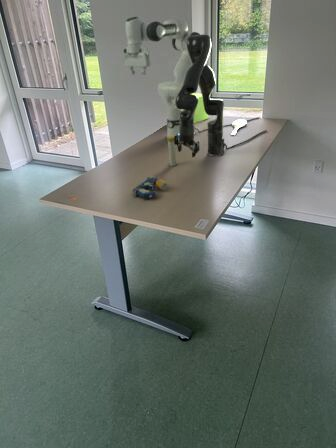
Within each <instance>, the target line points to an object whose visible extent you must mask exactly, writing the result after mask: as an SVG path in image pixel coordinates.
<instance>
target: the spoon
mask: <svg viewBox="0 0 336 448" xmlns="http://www.w3.org/2000/svg"><path fill="white" fill-rule="evenodd" d="M246 121H247V120H245V119H237V120H234V121H233V122H232V123H231V124H232V125H231V126H232V127H234V129H233V131H232V132H231V136H236V135H237V131H238V129H239V128H242V127H244V126H246V125H247V122H248V121H247V122H246Z"/></svg>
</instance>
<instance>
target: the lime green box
mask: <svg viewBox="0 0 336 448" xmlns="http://www.w3.org/2000/svg"><path fill="white" fill-rule="evenodd" d="M192 95H196V96H197V98H198V105H197V108H196V110H195V114H194V124H196V123H199V122H202V121H205V120H208V119H209V115H207V114H206V112H205V109H204V103H203V98H202V94H201V93H197V92H195V93H194V94H192ZM182 111H183V110H182Z"/></svg>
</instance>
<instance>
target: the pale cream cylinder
mask: <svg viewBox="0 0 336 448" xmlns="http://www.w3.org/2000/svg"><path fill="white" fill-rule="evenodd" d="M167 148H168V161H169V166H170V167H174V166H177V153H176V145H175V144H174V141H173V142H168V141H167Z"/></svg>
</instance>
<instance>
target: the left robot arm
mask: <svg viewBox="0 0 336 448" xmlns="http://www.w3.org/2000/svg"><path fill="white" fill-rule="evenodd" d="M193 35H201V33H199V32H197V31H189V25H188V23H187V22H186V20H184V19H180V18H171V19H167V20H164V22H163V23H161V22H160V21H157V20H156V21H150V22H144V21H142V20H141V19H140V18H139V17H138V16H132V17H128V18H127V19H126V20H125V36H126V39H127V43H126V44H127V46H126V47H125V48H123V49H122V54H123V56H122V57H123V65H124V66H125V67H128V68H129V70H130V74H131V75H136V71H135V70H134V68H138V67H139V68H141V69H142V71H141V76H145V75H146V74H147V73H146V71H147V68H148V67H151V65H152V62H151V56H150V54H149V51H148V50H147V48H144V46H143V45H144V44H143V42H156V43H157V42H160V41H161V40H162V39H163V38H165V39H167V40H171V45H172V48H173V49H174V50H176V51H179V52H180V51H181V56H180V57H179V59H178V61H177V63H176V65H175V68H174V69H173V75H174V77H175V79H174V80H173V81H169V80H166V81H162V82H160V83H159V84H158V86H157V94H158V96H159V97H160V98H161V99H162V101H163V103H164V105H165V108H166V116H167V119H166V124H167V128H166V129H167V131H166V138H167V137H168V136H175V135H176V134H179V125H180V113H181V112H182V109H178V108H177V107H176V105H175V100H176V97H177V95H178V93H179V92H180V90H181V88H182V86H183V83H184V79H185V75H186V73H187V71H188V70H189V68H190V67H191V66H192V65H193V64H192V61H191V59H190V56H189V54H188V50H187V39H188V37H190V36H193ZM260 118H261V116H257V117H254V118H250V119H248V120H245V121H246V122H250V121H253V120H257V119H260ZM232 124H233V123H230V124H225V125H223V128H224V127H229V126H233V125H232ZM194 130H196V131H197V132H198V133H202V132H205V131H208V128H205V129H203V130H199V129H198V128H195V127H194ZM194 135H196V133H195V132H194ZM178 141H180V140H179V139H178Z"/></svg>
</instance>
